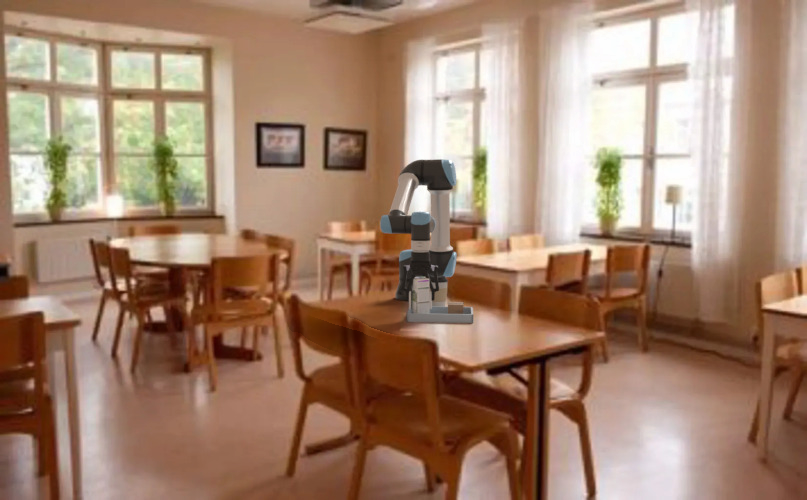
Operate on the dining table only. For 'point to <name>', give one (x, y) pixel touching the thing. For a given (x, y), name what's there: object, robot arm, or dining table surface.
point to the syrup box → (420, 295)
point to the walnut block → (455, 307)
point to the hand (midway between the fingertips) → (420, 308)
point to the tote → (441, 315)
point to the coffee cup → (440, 291)
